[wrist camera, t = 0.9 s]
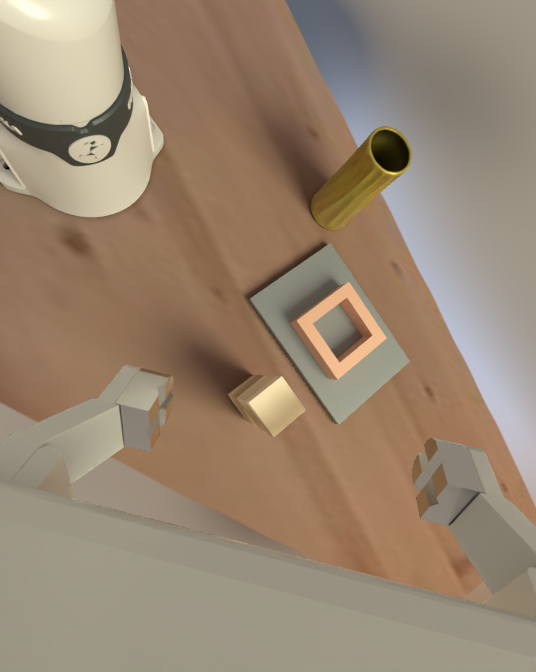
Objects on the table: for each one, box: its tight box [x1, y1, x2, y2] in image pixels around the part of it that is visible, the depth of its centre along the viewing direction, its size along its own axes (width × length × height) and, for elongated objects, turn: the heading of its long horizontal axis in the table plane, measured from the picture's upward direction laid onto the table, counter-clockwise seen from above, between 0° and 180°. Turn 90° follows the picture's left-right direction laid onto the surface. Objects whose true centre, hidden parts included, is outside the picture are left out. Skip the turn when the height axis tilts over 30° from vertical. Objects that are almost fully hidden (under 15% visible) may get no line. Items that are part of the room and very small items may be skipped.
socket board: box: [248, 243, 410, 425], centre depth 47 cm, size 20×14×4 cm
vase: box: [311, 126, 412, 230], centre depth 44 cm, size 6×6×14 cm
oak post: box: [227, 375, 306, 437], centre depth 39 cm, size 4×4×12 cm
